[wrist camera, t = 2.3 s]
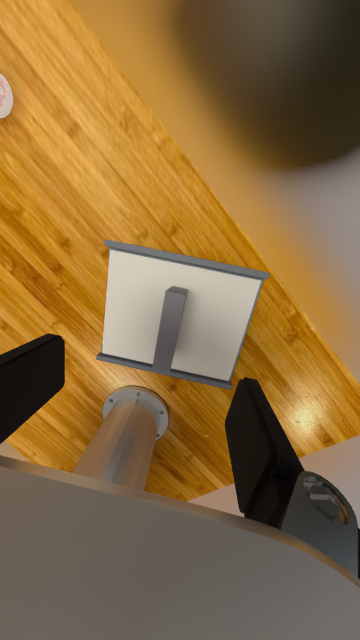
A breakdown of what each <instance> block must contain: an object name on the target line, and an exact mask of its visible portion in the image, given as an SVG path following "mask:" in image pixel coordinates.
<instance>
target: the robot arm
mask: <svg viewBox="0 0 360 640" xmlns="http://www.w3.org/2000/svg"><path fill="white" fill-rule="evenodd" d="M64 383H65V342H64V340H63V339H62V337H61V336H58V335H54V334H46V335H44V336H41V337H39V338H37V339H35V340H32V341H30V342H28V343H26V344H24V345H21V346H19V347H17V348H15V349H13V350H10V351H8V352H6V353H4V354H1V355H0V444H1V443H2V442H3V441H4V440H6V439H7V438H8V437H9V436H10V435H11V434H12V433H13V432H14V431H16V430H17V429H18V428H19V427H20V426H21V425H22V424H23V423H24V422H25V421H27V420H28V419H29V418H30V417H31V416H32V415H33V414H34V413H35V412H37V411H38V410H39V409H40V408H41V407H42V406H43V405H44V404H45V403H46V402H48V401H49V400H50V399H51V398H52V397H53V396H54V395H55V394H56V393H58V392H59V391H60V390H61V389H62V387H63V386H64ZM102 415H103V420H104V421H103V422H102V424H101V426H100V427H99V429H98V430H97V432H96V434H95V435H94V437H93V439H92V440H91V442H90V444H89V445H88V447H87V448H86V450H85V452H84V453H83V455H82V457H81V458H80V460H79V462H78V463H77V465H76V466H75V468H74V470H73V471H72V473H70V472H66V471H62V470H58V469H54V468H50V467H46V466H42V465H38V464H34V463H29V462H25V461H21V460H17V459H12V458H9V457H4V456H0V640H360V529H359V528H358V524H357V519H356V515H355V513H354V511H353V509H352V507H351V505H350V504H349V502H348V501H347V499H346V498H345V497H344V495H343V494H342V493H341V492H340V491H339V490H338V489H337V488H336V487H335V486H334V485H333V484H332V483H330V482H329V481H328V480H326V479H325V478H323V477H322V476H320V475H318V474H316V473H313V472H310V471H304V469H303V467H302V465H301V463H300V461H299V459H298V457H297V455H296V453H295V451H294V449H293V448H292V446H291V444H290V442H289V440H288V438H287V436H286V434H285V432H284V430H283V429H282V427H281V425H280V423H279V421H278V419H277V417H276V415H275V414H274V412H273V410H272V408H271V406H270V404H269V402H268V400H267V398H266V396H265V394H264V393H263V391H262V389H261V387H260V385H259V383H258V381H257V380H255V379H251V378H246V377H245V378H244V379H243V380H242V379H240V380H239V383H238V386H237V388H236V391H235V394H234V397H233V400H232V403H231V406H230V408H229V411H228V414H227V417H226V420H225V430H226V436H227V442H228V447H229V453H230V459H231V465H232V471H233V476H234V482H235V487H236V493H237V499H238V505H239V509H240V512H241V513H244V516H245V518H244V517H240V516H236V515H233V514H230V513H226V512H222V511H218V510H215V509H211V508H208V507H204V506H201V505H197V504H193V503H189V502H185V501H181V500H177V499H174V498H170V497H166V496H162V495H158V494H154V493H150V492H146V491H144V488H145V484H146V480H147V476H148V471H149V467H150V463H151V459H152V454H153V450H154V446H155V442H156V440H157V439H159V438H160V437H161V436H162V435H163V434H164V433H165V431H166V429H167V427H168V422H169V413H168V409H167V407H166V405H165V403H164V402H163V401H162V399H161V398H160V397H159V396H157V395H156V394H155V393H153V392H152V391H150V390H147V389H145V388H141V387H135V386H128V387H123V388H120V389H117V390H115V391H114V392H113V393H111V394H110V396H109V397H108V398H107V400H106V401H105V403H104V406H103V410H102Z"/></svg>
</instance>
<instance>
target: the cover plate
mask: <svg viewBox="0 0 360 640" xmlns="http://www.w3.org/2000/svg"><path fill="white" fill-rule="evenodd" d="M260 283H261V281H260V280H255V279H251V278H246V277H241V276H236V275H231V274H226V273H221V272H217V271H212V270H207V269H202V268H197V267H192V266H188V265H183V264H178V263H173V262H168V261H163V260H158V259H154V258H149V257H144V256H139V255H134V254H129V253H124V252H120V251H115V250H110V258H109V270H108V283H107V296H106V309H105V321H104V334H103V347H102V353H105V354H109V355H113V356H118V357H122V358H127V359H131V360H136V361H140V362H145V363H149V364H153V366H152V370H156V371H160V372H165V373H170V369H171V368H172V369H176V370H181V371H185V372H190V373H194V374H199V375H203V376H208V377H212V378H217V379H221V380H225V381H229V379H230V376H231V373H232V370H233V366H234V363H235V360H236V357H237V354H238V351H239V348H240V345H241V342H242V339H243V336H244V332H245V329H246V326H247V323H248V320H249V317H250V314H251V311H252V308H253V305H254V301H255V298H256V295H257V292H258V289H259V286H260Z"/></svg>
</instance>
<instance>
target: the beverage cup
mask: <svg viewBox="0 0 360 640" xmlns="http://www.w3.org/2000/svg"><path fill="white" fill-rule="evenodd" d="M12 105H13V95H12V90H11V88H10V86H9V84H8V81H7V80H6V79H5V78H4V77H3V76H2V75H1V73H0V118H4V117H6V116H7V115H8V114H9V113H10V111H11V109H12Z"/></svg>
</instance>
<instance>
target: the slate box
mask: <svg viewBox="0 0 360 640" xmlns="http://www.w3.org/2000/svg"><path fill="white" fill-rule="evenodd" d="M104 245H105V246H109V257H110V250H115V251H120V252H124V253H129V254H134V255H139V256H144V257H149V258H154V259H158V260H163V261H168V262H173V263H178V264H183V265H188V266H192V267H197V268H202V269H207V270H212V271H217V272H221V273H226V274H231V275H236V276H241V277H246V278H251V279H255V280H260V281H261V283H260V286H259V289H258V292H257V295H256V298H255V301H254V305H253V308H252V311H251V314H250V317H249V320H248V323H247V326H246V329H245V332H244V336H243V339H242V342H241V345H240V348H239V351H238V354H237V357H236V360H235V363H234V366H233V370H232V373H231V376H230V379H229V381H225V380H221V379H217V378H212V377H208V376H203V375H199V374H194V373H190V372H185V371H181V370H176V369H172V368H171V369H170V373H165V372H160V371H156V370H152V366H153V364H149V363H145V362H140V361H136V360H131V359H127V358H122V357H118V356H113V355H109V354H105V353H102V349H101V352H100V353H99V354H98V355H97V357H96V360H101V361H105V362H109V363H114V364H118V365H123V366H127V367H132V368H136V369H141V370H145V371H150V372H154V373H158V374H163V375H167V376H172V377H176V378H181V379H185V380H190V381H194V382H199V383H203V384H207V385H212V386H216V387H221V388H225V389H230V390H231V389H232V383H231V378H232V375H233V372H234V369H235V366H236V363H237V360H238V357H239V354H240V350H241V347H242V344H243V341H244V338H245V335H246V332H247V329H248V326H249V323H250V320H251V317H252V314H253V311H254V308H255V304H256V301H257V298H258V295H259V292H260V289H261V286H262V283H263V280H264V279H268V278H269V275H270V273H266V272H263V271H258V270H253V269H248V268H243V267H238V266H234V265H229V264H224V263H219V262H214V261H209V260H204V259H199V258H194V257H190V256H185V255H180V254H175V253H170V252H165V251H160V250H155V249H150V248H146V247H141V246H136V245H131V244H126V243H121V242H116V241H111V240H105V241H104ZM102 347H103V344H102Z"/></svg>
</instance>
